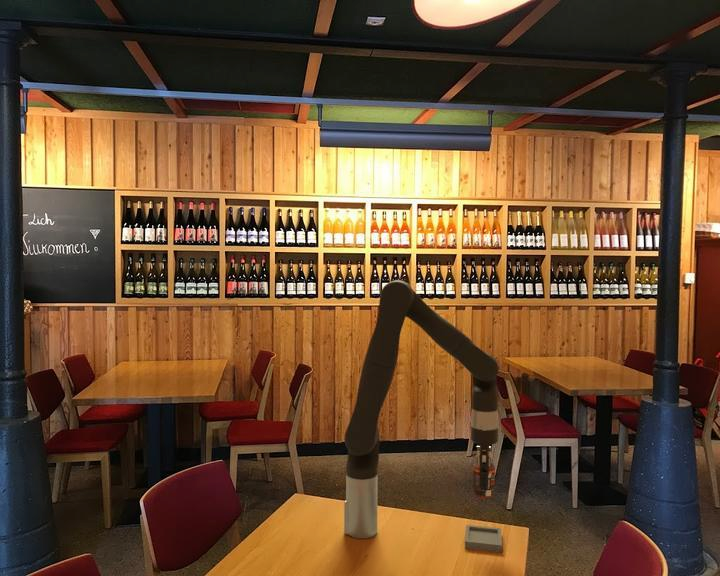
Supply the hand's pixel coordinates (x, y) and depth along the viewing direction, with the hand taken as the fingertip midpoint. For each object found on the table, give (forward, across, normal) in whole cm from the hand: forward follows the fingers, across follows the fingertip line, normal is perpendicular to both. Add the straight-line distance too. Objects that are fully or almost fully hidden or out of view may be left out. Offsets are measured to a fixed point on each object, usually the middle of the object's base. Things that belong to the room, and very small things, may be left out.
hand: (483, 483), depth 157 cm
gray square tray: (+17, 0, 0) cm, 17 cm away
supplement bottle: (+4, 0, 0) cm, 4 cm away
